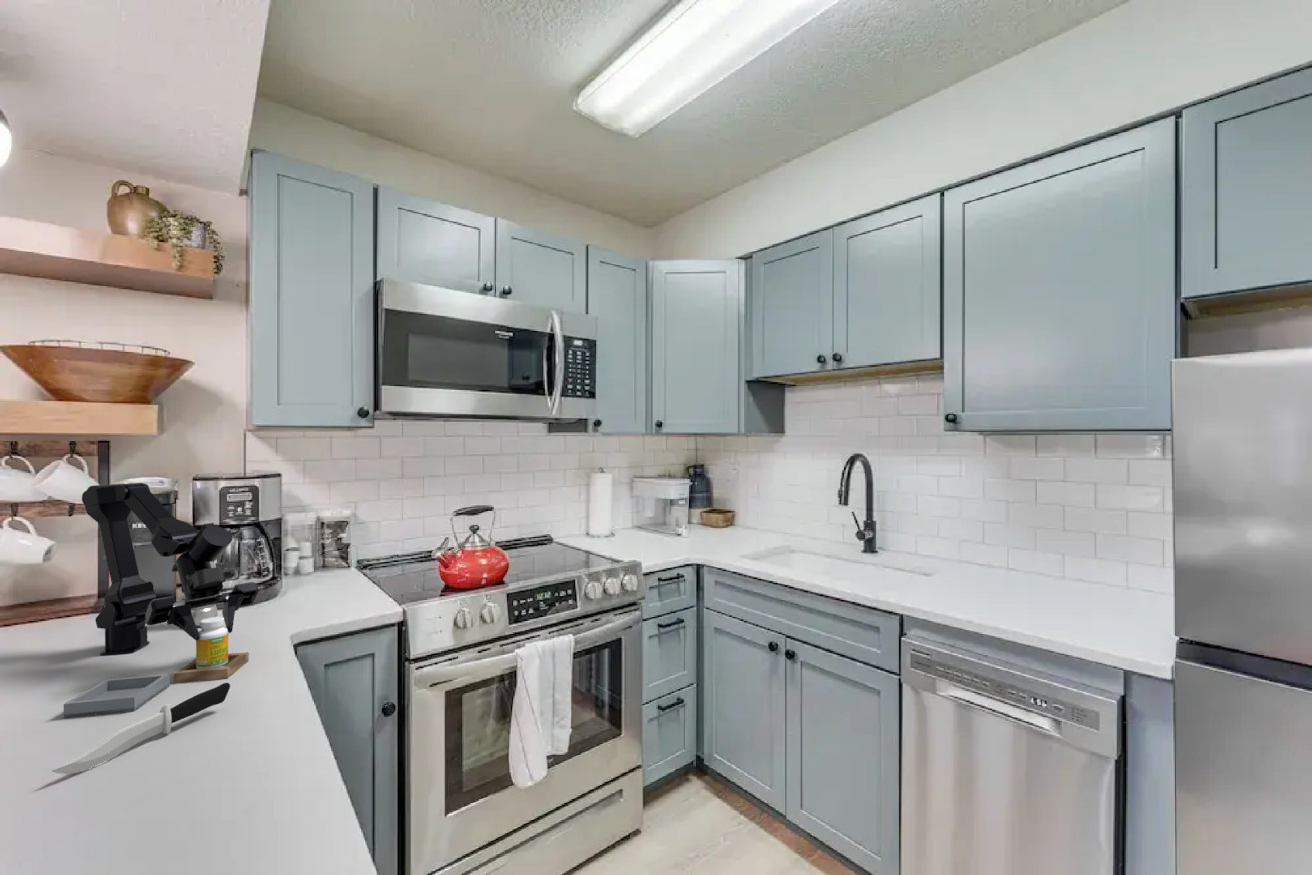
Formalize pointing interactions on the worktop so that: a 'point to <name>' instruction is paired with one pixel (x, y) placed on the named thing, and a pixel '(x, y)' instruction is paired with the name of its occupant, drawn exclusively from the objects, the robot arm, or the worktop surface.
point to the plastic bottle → (204, 610)
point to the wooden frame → (211, 669)
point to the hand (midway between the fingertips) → (214, 635)
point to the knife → (144, 730)
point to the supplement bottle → (212, 644)
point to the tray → (116, 695)
